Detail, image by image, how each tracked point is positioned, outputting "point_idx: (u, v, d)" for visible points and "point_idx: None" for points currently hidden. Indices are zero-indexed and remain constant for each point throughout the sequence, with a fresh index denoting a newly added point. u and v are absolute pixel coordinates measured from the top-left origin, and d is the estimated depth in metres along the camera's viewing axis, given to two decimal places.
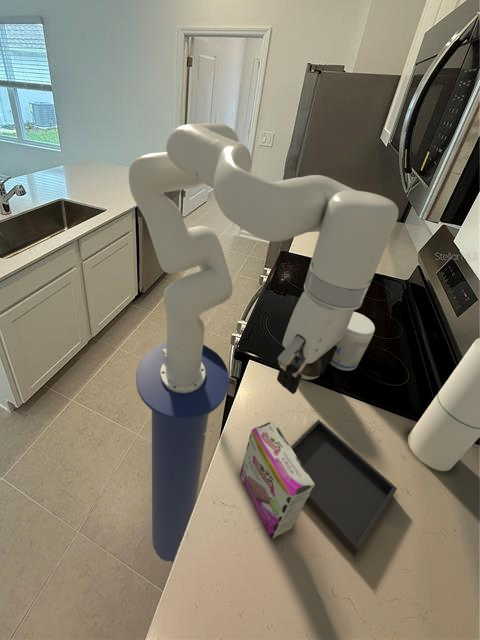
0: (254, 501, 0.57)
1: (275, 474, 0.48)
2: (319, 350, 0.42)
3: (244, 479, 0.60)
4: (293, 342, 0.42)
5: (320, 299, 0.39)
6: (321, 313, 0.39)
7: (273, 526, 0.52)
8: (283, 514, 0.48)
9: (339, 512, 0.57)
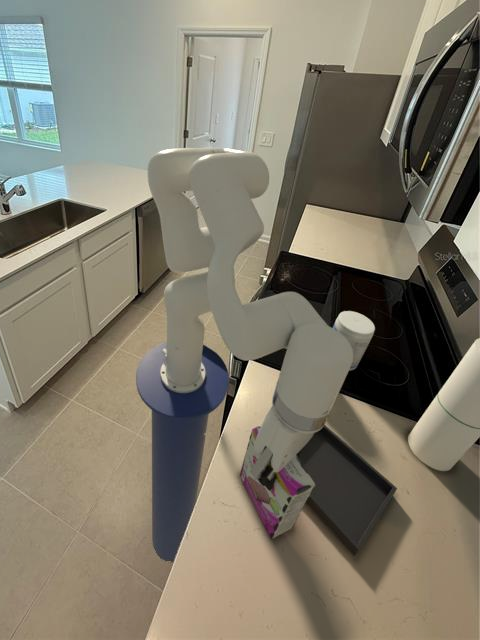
0: (254, 501, 0.57)
1: (276, 474, 0.48)
2: (286, 461, 0.45)
3: (244, 479, 0.60)
4: (262, 456, 0.45)
5: (285, 420, 0.42)
6: (285, 434, 0.42)
7: (273, 526, 0.52)
8: (283, 514, 0.48)
9: (339, 512, 0.57)
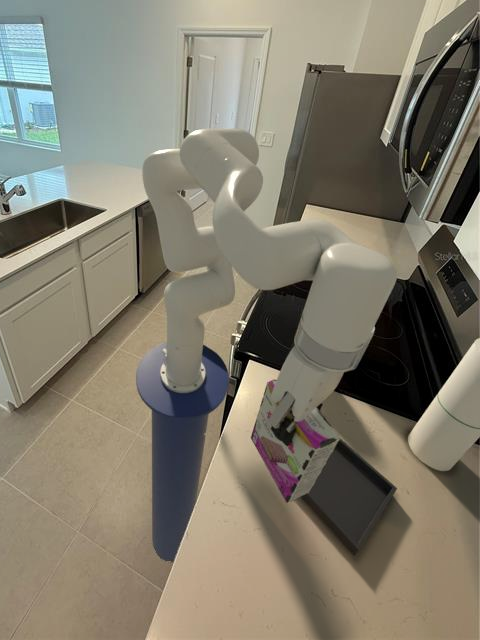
0: (267, 463, 0.52)
1: (296, 426, 0.43)
2: (309, 409, 0.39)
3: (256, 441, 0.54)
4: (282, 403, 0.39)
5: (311, 358, 0.36)
6: (311, 374, 0.36)
7: (290, 488, 0.47)
8: (303, 472, 0.43)
9: (339, 512, 0.57)
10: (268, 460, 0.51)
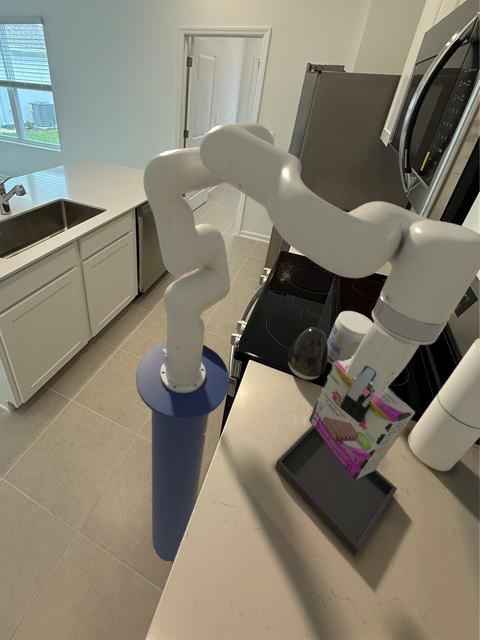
0: (331, 443, 0.53)
1: (369, 402, 0.44)
2: (389, 382, 0.41)
3: (316, 423, 0.56)
4: (362, 377, 0.41)
5: (395, 332, 0.38)
6: (397, 347, 0.38)
7: (359, 464, 0.48)
8: (377, 446, 0.44)
9: (339, 512, 0.57)
10: (332, 440, 0.53)
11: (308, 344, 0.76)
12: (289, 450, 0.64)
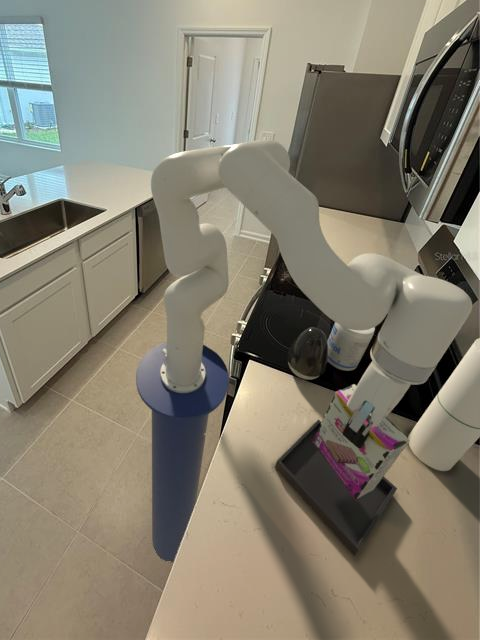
0: (333, 464, 0.58)
1: (369, 431, 0.49)
2: (386, 415, 0.45)
3: (320, 444, 0.61)
4: (361, 410, 0.46)
5: (391, 373, 0.43)
6: (392, 386, 0.42)
7: (360, 485, 0.53)
8: (376, 471, 0.49)
9: (339, 512, 0.57)
10: (334, 461, 0.57)
11: (308, 344, 0.76)
12: (289, 450, 0.64)
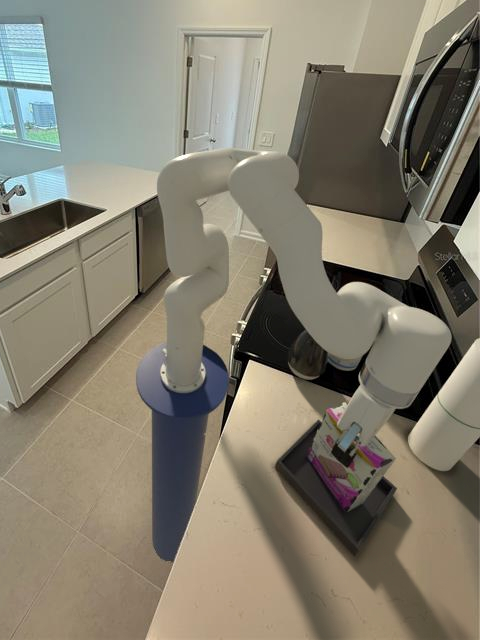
0: (325, 478, 0.60)
1: (357, 449, 0.52)
2: (373, 436, 0.48)
3: (312, 459, 0.63)
4: (350, 430, 0.48)
5: (377, 397, 0.45)
6: (378, 410, 0.45)
7: (350, 500, 0.55)
8: (364, 487, 0.52)
9: (339, 512, 0.57)
10: (326, 476, 0.60)
11: (308, 344, 0.76)
12: (289, 450, 0.64)
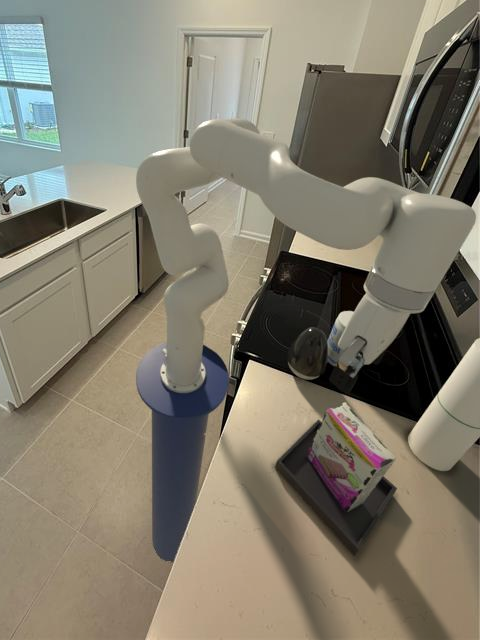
0: (325, 478, 0.60)
1: (357, 449, 0.52)
2: (379, 351, 0.42)
3: (312, 459, 0.63)
4: (354, 343, 0.42)
5: (385, 301, 0.40)
6: (387, 315, 0.39)
7: (350, 500, 0.55)
8: (364, 487, 0.52)
9: (339, 512, 0.57)
10: (326, 476, 0.60)
11: (308, 344, 0.76)
12: (289, 450, 0.64)
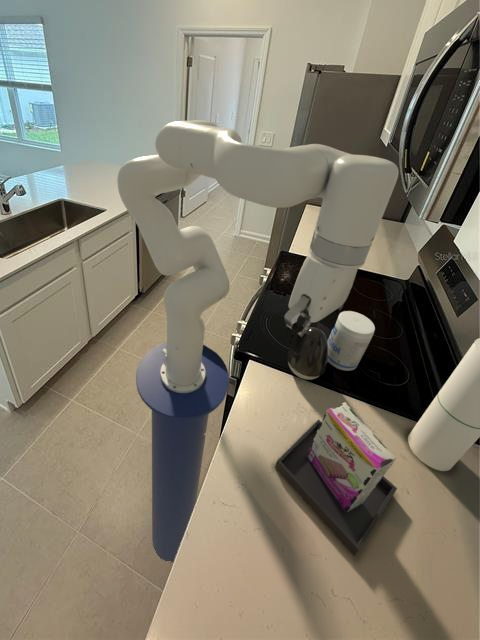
0: (325, 478, 0.60)
1: (357, 449, 0.52)
2: (323, 309, 0.45)
3: (312, 459, 0.63)
4: (299, 301, 0.44)
5: (325, 258, 0.42)
6: (326, 271, 0.42)
7: (350, 500, 0.55)
8: (364, 487, 0.52)
9: (339, 512, 0.57)
10: (326, 476, 0.60)
11: (308, 344, 0.76)
12: (289, 450, 0.64)
